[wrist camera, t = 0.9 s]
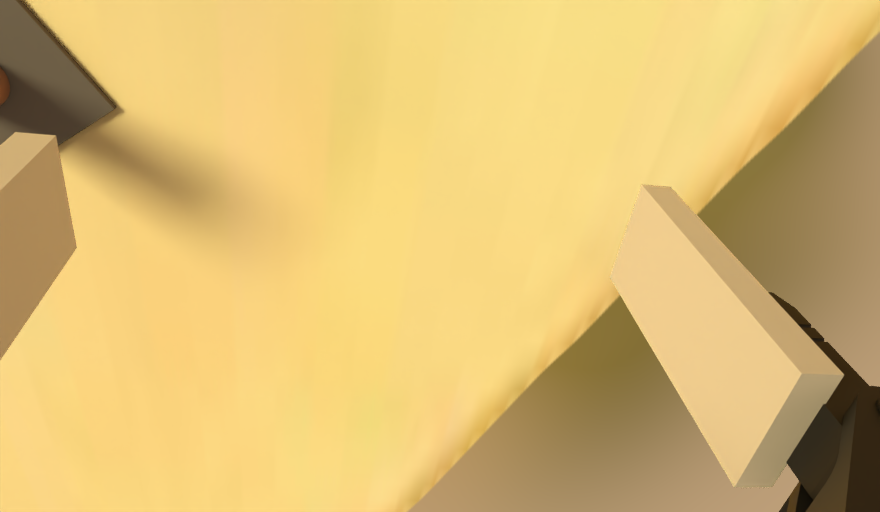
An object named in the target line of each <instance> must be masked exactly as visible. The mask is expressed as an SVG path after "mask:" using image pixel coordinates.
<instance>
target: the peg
mask: <svg viewBox="0 0 880 512" xmlns="http://www.w3.org/2000/svg"><path fill="white" fill-rule="evenodd" d="M9 93H10V84H9V80H8V78H7V75H6V74H5V72H4V71H3V69H2V68H1V67H0V105H2V104H3V103H4V102H5V101H6V100H7V98H8V96H9Z"/></svg>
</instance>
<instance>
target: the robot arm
mask: <svg viewBox="0 0 880 512" xmlns="http://www.w3.org/2000/svg"><path fill="white" fill-rule="evenodd" d="M76 248H77V247H76V241H75V236H74V230H73V225H72V220H71V214H70V209H69V203H68V198H67V193H66V187H65V182H64V176H63V171H62V166H61V160H60V155H59V149H58V144H57V139H56V135H44V134H33V133H21V132H15V133H14V134H13V135H11V136H10V137H9V138H8V139H7V140H6V141H5V142H3V143H2V144H1V145H0V360H1V358H2V357H3V355H4V354H5V353H6V351H7V350H8V348H9V347H10V345H11V344H12V342H13V341H14V339H15V338H16V336H17V335H18V333H19V332H20V330H21V329H22V327H23V326H24V325H25V323H26V322H27V320H28V319H29V317H30V316H31V314H32V313H33V311H34V310H35V308H36V307H37V305H38V304H39V302H40V301H41V299H42V298H43V297H44V295H45V294H46V292H47V291H48V289H49V288H50V286H51V285H52V283H53V282H54V280H55V279H56V277H57V276H58V274H59V273H60V271H61V270H62V269H63V267H64V266H65V264H66V263H67V261H68V260H69V258H70V257H71V255H72V254H73V252H74V251H75V249H76ZM610 279H611V280H612V282H613V284H614V286H615V287H616V289H617V291H618V292H619V294H620V296H621V297H622V299H623V301H624V302H625V304H626V306H627V307H628V309H629V310H630V313H631V314H632V316H633V317H634V319H635V321H636V322H637V324H638V326H639V328H640V329H641V331H642V333H643V334H644V336H645V338H646V340H647V341H648V343H649V345H650V346H651V348H652V350H653V351H654V353H655V355H656V356H657V358H658V360H659V361H660V363H661V365H662V366H663V368H664V370H665V372H666V373H667V375H668V377H669V378H670V380H671V382H672V383H673V385H674V387H675V388H676V390H677V392H678V393H679V395H680V397H681V399H682V400H683V402H684V404H685V405H686V407H687V409H688V410H689V412H690V414H691V415H692V417H693V419H694V421H695V422H696V424H697V426H698V427H699V429H700V431H701V432H702V434H703V436H704V437H705V439H706V441H707V442H708V444H709V446H710V448H711V449H712V451H713V452H714V454H715V456H716V458H717V459H718V461H719V463H720V464H721V466H722V468H723V469H724V471H725V473H726V474H727V476H728V478H729V480H730V481H731V483H732V484H733V486H734V487H736V488H737V487H740V488H742V487H743V488H746V487H773V485H774V484H775V482H776V480H777V479H778V478H779V476H780V475H781V472H782V471H783V470H784V468H785V467H786V465H787V464H788V465H789V467H790V468H791V470H792V471H793V473H794V474H795V475H796V477H797V478H798V480H799V483H798V484H797V486H796V487H795V489H794V490H793V492H792V493H791V495H790V496H789V498H788V499H787V501H786V502H785V503H784V505H783V507H782V508H781V510H780V511H779V512H880V387H876V386H869V385H868V384H867V383H866V382H865V381H864V380H863V379H862V378H861V377H860V376H859V375H858V374H857V372H856V371H854V369H853V368H852V367H851V366H850V365H849V364H848V363H847V362H846V361H845V360H844V359H843V358H842V357H841V356H840V355H839V354H838V353H837V351H836V350H835V349H834V348H833V347H832V346H831V345H830V344H829V343H828V342H824V338H823V337H822V336H821V335H820V334H819V333H818V332H817V331H816V329H815V328H811V324H810V323H809V322H808V321H807V320H806V319H805V318H804V317H803V316H802V315H801V314H800V313H799V312H798V310H797V309H796V308H794V307H793V306H791V305H790V304H789V303H787V302H785V301H784V300H782V299H781V298H779V297H778V296H777V295H775V294H774V293H771V292H767V291H766V290H765V289H764V287H763V286H761V284H760V283H759V282H758V281H757V280H756V279H755V278H754V277H753V276H752V274H751V273H750V272H749V271H748V270H747V269H746V268H745V267H744V266H743V265H742V264H741V263H740V262H739V260H737V258H736V257H735V256H734V255H733V254H732V253H731V252H730V251H729V250H728V249H727V247H726V246H725V245H724V244H723V243H722V242H721V241H720V240H719V239H718V238H717V237H716V236H715V234H714V233H713V232H712V231H711V230H710V229H709V228H708V227H707V226H706V225H705V224H704V223H703V221H702V220H701V219H700V218H699V217H698V216H697V215H696V214H695V213H694V212H693V211H692V210H691V209H690V207H689V206H688V205H687V204H686V203H685V202H684V201H683V200H682V199H681V198H680V197H679V196H678V194H677V193H676V192H675V191H674V190H673V189H672V188H671V187H665V186H653V185H641V188H640V191H639V194H638V197H637V200H636V202H635V205H634V208H633V211H632V214H631V217H630V220H629V223H628V226H627V229H626V232H625V234H624V237H623V240H622V243H621V246H620V249H619V252H618V255H617V258H616V261H615V264H614V266H613V269H612V272H611V275H610Z"/></svg>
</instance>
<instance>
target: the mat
mask: <svg viewBox="0 0 880 512" xmlns="http://www.w3.org/2000/svg"><path fill="white" fill-rule="evenodd" d="M0 67H1V68H2V69H3V71H4V72H5V74H6V75H7V78H8V80H9V84H10V93H9V96H8V98H7V100H6V101H5V102H4V103H3V104H2V105H0V145H1V144H2V143H3V142H5V141H6V140H7V139H8V138H9V137H10V136H11V135H13V134H14V133H15V132H21V133H33V134H44V135H56V139H57V144H58V145H60V144H61V143H63V142H64V141H66V140H68V139H69V138H71V137H72V136H74V135H75V134H77V133H78V132H80V131H81V130H83V129H85V128H86V127H88V126H89V125H91V124H92V123H94V122H95V121H97V120H99V119H100V118H102V117H103V116H105V115H106V114H108V113H109V112H111V111H112V110H114V109H115V108H116V106H115V105H114V104H113V103H112V102H111V101H110V100H109V98H108V97H107V96H106V95H105V94H104V93H103V92H102V91H101V89H100V88H99V87H98V86H97V85H96V84H95V83H94V82H93V81H92V79H91V78H90V77H89V76H88V75H87V74H86V73H85V72H84V71H83V69H82V68H81V67H80V66H79V65H78V64H77V63H76V62H75V61H74V59H73V58H72V57H71V56H70V55H69V54H68V53H67V52H66V50H65V49H64V48H63V47H62V46H61V45H60V44H59V43H58V42H57V40H56V39H55V38H54V37H53V36H52V35H51V34H50V33H49V32H48V30H47V29H46V28H45V27H44V26H43V25H42V24H41V23H40V22H39V20H38V19H37V18H36V17H35V16H34V15H33V14H32V13H31V11H30V10H29V9H28V8H27V7H26V6H25V5H24V4H23V3H22V1H21V0H0Z"/></svg>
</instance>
